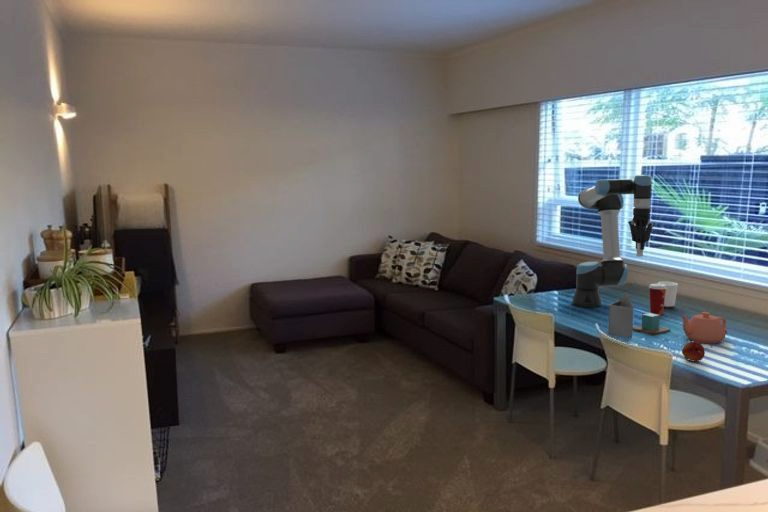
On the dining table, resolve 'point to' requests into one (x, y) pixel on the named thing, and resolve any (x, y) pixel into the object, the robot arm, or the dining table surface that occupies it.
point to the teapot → (705, 328)
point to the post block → (653, 332)
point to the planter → (621, 317)
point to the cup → (670, 293)
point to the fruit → (693, 351)
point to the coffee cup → (657, 298)
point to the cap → (650, 321)
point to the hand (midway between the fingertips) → (639, 256)
